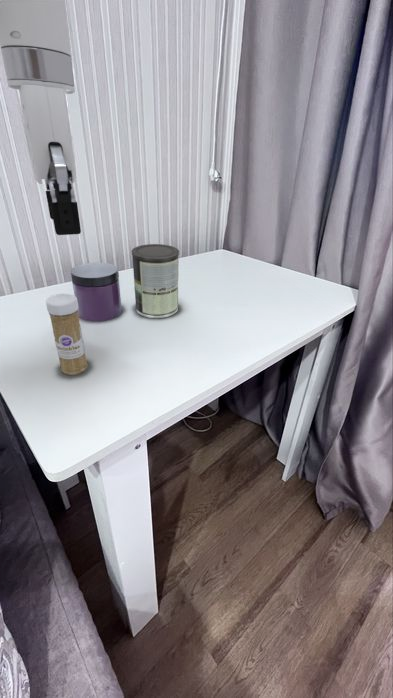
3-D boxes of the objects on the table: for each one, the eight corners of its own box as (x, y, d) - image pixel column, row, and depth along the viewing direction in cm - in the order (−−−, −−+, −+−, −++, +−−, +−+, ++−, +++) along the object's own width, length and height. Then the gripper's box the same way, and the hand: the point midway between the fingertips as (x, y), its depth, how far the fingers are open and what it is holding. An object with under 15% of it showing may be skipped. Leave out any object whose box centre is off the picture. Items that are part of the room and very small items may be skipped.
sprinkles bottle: (62, 378, 56) (45, 306, 49) (60, 363, 59) (44, 294, 52) (90, 372, 58) (78, 302, 50) (86, 358, 61) (74, 290, 54)
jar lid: (74, 289, 67) (73, 280, 66) (69, 272, 75) (68, 264, 74) (123, 283, 71) (122, 275, 70) (113, 268, 78) (112, 260, 77)
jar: (80, 324, 72) (73, 283, 67) (75, 305, 79) (68, 267, 74) (126, 317, 75) (122, 277, 70) (116, 300, 83) (113, 263, 78)
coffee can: (126, 310, 79) (121, 250, 71) (155, 296, 86) (153, 241, 78) (159, 323, 74) (157, 260, 66) (187, 307, 81) (188, 250, 73)
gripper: (7, 79, 44) (34, 215, 53) (2, 58, 31) (39, 243, 40) (66, 85, 47) (82, 213, 56) (84, 69, 34) (102, 239, 43)
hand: (64, 225), depth 48 cm, fingers open, 9 cm apart
